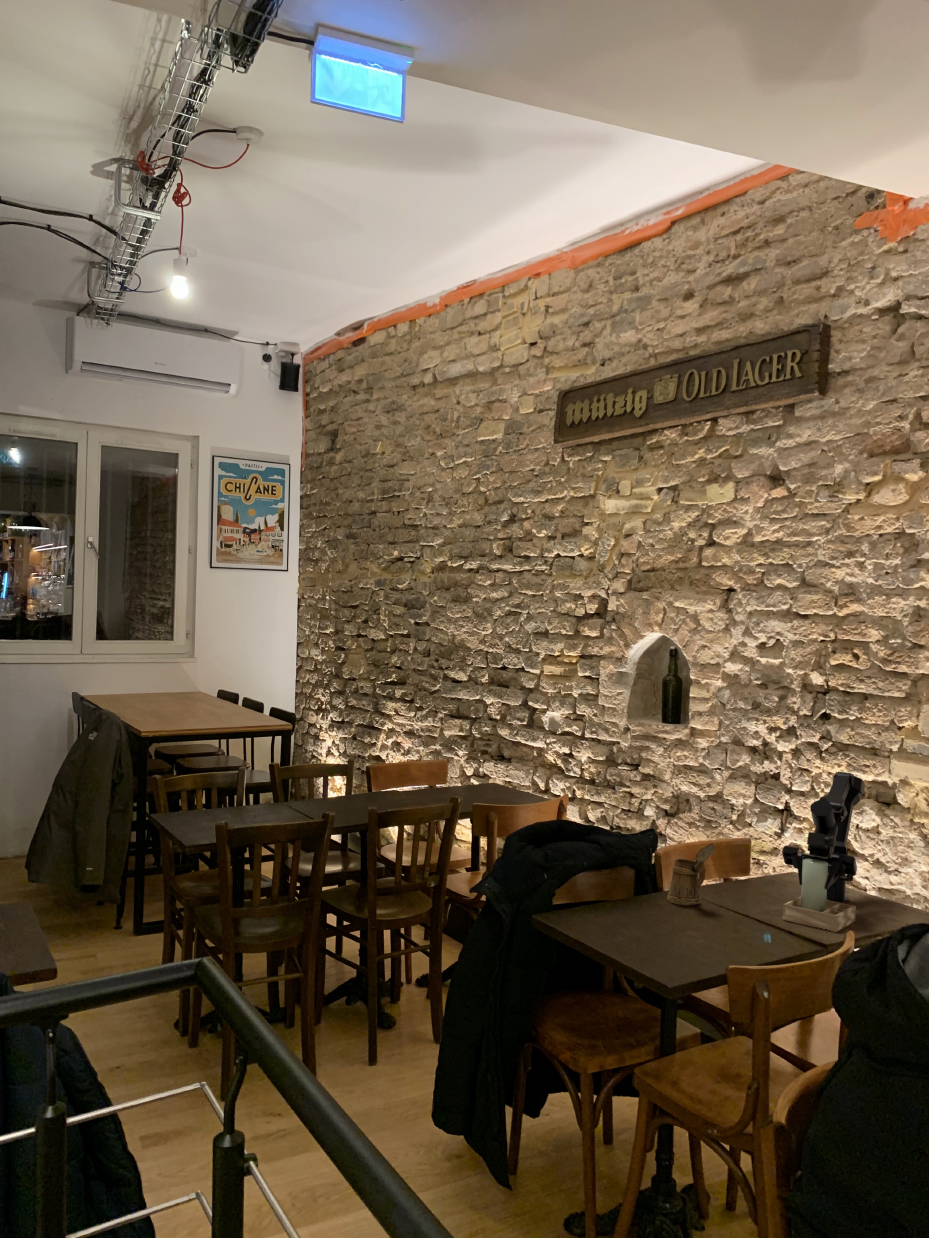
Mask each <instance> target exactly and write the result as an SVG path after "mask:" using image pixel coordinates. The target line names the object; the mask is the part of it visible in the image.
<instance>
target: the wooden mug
mask: <svg viewBox="0 0 929 1238" xmlns="http://www.w3.org/2000/svg"><path fill="white" fill-rule="evenodd" d="M715 848H716V847H715V845H714V843H710V844H708V845H706V846H704V847H703V848H701V849H700V850H699V851H698V852H697V853H696V854H695V860H693V859H692V860H691V859H686V858H677V859H675V860H674V864H673V866H672V869H671V870H672V872H671V873H672V875H671V879H670V885H669V888H668V889H669V890H668V893H667V897H666V900H667V901H668V902H669V903H672V904H674V905H679V906H687V907H688V906H690V907H694V906H698V905H700V904H701V902H702V901H701V900H702V899H701V895H700V888H701V887H702V885H703V883H704V881H705V879H706V873H707V872H706V866H705V864H704V863H705V862H706V861H707V860H708V859H709V858H710V857H711V856H712V855H713V854H714V852H715Z"/></svg>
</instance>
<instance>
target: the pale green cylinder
mask: <svg viewBox="0 0 929 1238" xmlns="http://www.w3.org/2000/svg"><path fill="white" fill-rule="evenodd" d="M827 877H828V862H826V861H822V860H817V859H803V866H802V885H801V888H800V889H801V890H800V891H801V893H800V897H801V908H804V909H809V910H813V911H818V912H823V911H825V910H826V900H827V890H826V889H825V886H826V881H827Z"/></svg>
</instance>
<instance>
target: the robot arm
mask: <svg viewBox="0 0 929 1238" xmlns="http://www.w3.org/2000/svg"><path fill="white" fill-rule="evenodd" d="M865 786H866V785H865V782H864V780H863V778H860V777H858V776H856V775H855V774H854V773H852V772H846V771H836V772H835V773H834V775H832V784H831V786H830V789H829V791H828V794H826V795H823V796H820V797H819V799H818V800H815V801H814V802H812V804H810V807H809V808H810V813H811V818H812V822H813V825H814V826H815V828H814V831H813V832H811V831H809V832H808V833H807V840H806V845H807V852H809V853H805V852H803V851H802V850H800V847H798V846H792V845H786V844H785V846H783V847H782V851H781V854H782V857H783V859H782V860H783V862H784V864H786V866H792V867H793V868H794V869H796V870H797V875H798V882H799V886H802V866H803V859H817V860H822V861H826V862H828V877H827V881H826V886H825V889H826V890H827V900H829V901H831V900H832V901H834V902H839V903H843V904H844V902H847V901H848V899H849V900H850V897H848V896H846V887H847V886H846V883H847V882H853V881H854V876H856V875H857V872H858V866H857V861H856V858H855V856H854V855H850V854H849V852H848V850H847V844H848V843H847V842H848V840H849V839H848V838H849V832H850V829H851V828H850V827H851V824H852V823H851V821H852V816H853V810H854V808H855V806H856V805H858V804H859V803H860V802H861V800H862V799H861V798H862V795H864V793H865ZM846 900H847V901H846Z"/></svg>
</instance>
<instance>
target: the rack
mask: <svg viewBox="0 0 929 1238" xmlns="http://www.w3.org/2000/svg"><path fill="white" fill-rule="evenodd" d="M856 909H857V906H856V905H853V904H852V905H851V904H847V903H844V902H843V903H840V902H835V901H831V900H826V910H825V911H823V912H818V911H813V910H809V909H804V908H801V896H799V897H796V898H794V899H792V900H790V901H788V902H787V901H786V902H785V903H783V904H782V920H783V921H788V922H790V923H796V924H800V925H804V926H809V927H813V928H817V927H818V929H821V928H822V930H825V929H827V930H826V931H829V930H830V932H834V933H837V932H839V931H840V930H842V929H844V928H846V927H847V926H849V925H851V924H853V923H855V922H856Z"/></svg>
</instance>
